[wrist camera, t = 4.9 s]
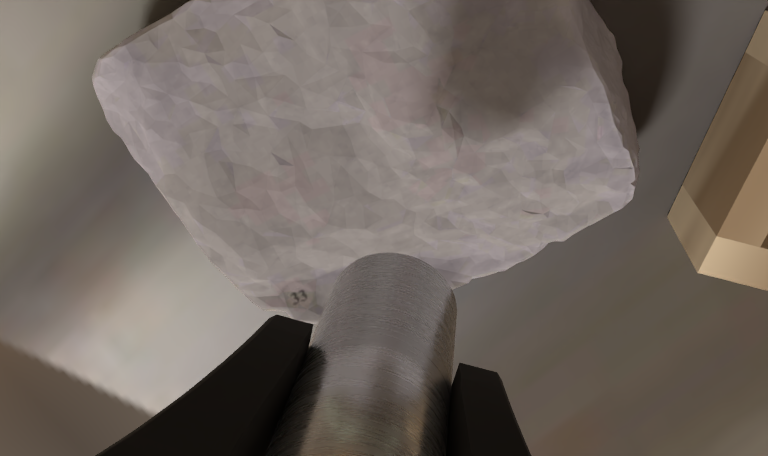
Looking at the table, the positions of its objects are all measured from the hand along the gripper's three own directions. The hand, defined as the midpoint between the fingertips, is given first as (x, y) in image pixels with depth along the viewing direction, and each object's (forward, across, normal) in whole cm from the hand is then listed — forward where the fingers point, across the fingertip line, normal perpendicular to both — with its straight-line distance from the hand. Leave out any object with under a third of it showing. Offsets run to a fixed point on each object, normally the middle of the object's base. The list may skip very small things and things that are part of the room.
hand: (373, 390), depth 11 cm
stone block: (+10, +1, -2) cm, 10 cm away
